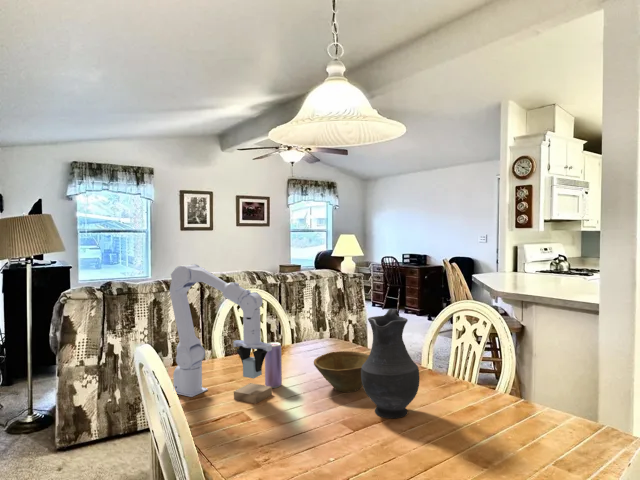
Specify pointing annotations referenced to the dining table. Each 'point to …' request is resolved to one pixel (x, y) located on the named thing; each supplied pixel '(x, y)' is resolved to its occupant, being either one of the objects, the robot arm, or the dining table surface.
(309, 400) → the dining table surface
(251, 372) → the pale grey-blue block
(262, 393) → the tan block
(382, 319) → the pitcher
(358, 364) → the bowl
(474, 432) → the dining table surface
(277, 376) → the beverage can
